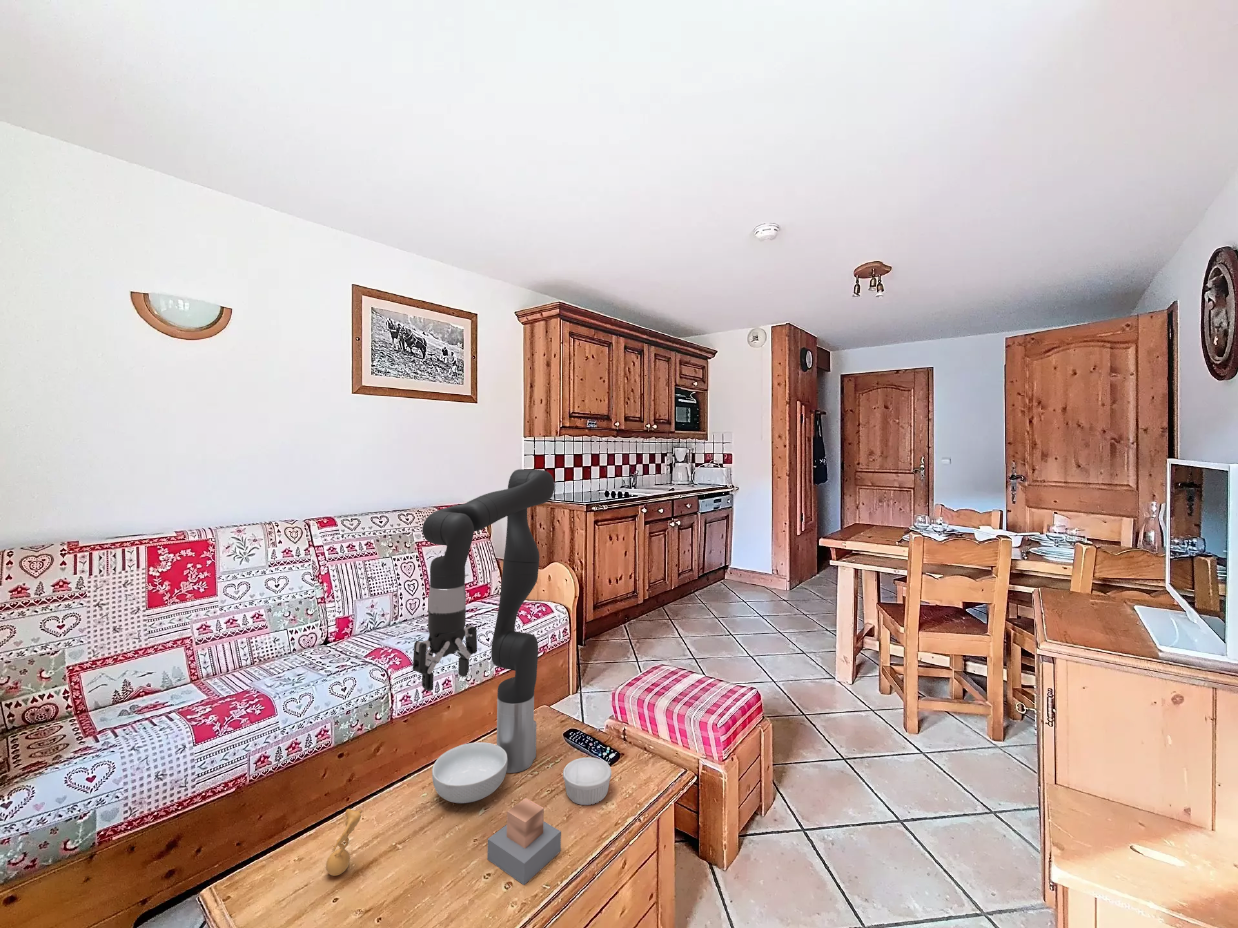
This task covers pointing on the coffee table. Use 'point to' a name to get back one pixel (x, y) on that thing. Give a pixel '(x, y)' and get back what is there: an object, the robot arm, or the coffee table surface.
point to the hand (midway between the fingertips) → (446, 682)
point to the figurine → (341, 856)
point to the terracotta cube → (525, 822)
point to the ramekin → (587, 780)
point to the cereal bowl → (469, 772)
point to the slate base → (523, 853)
